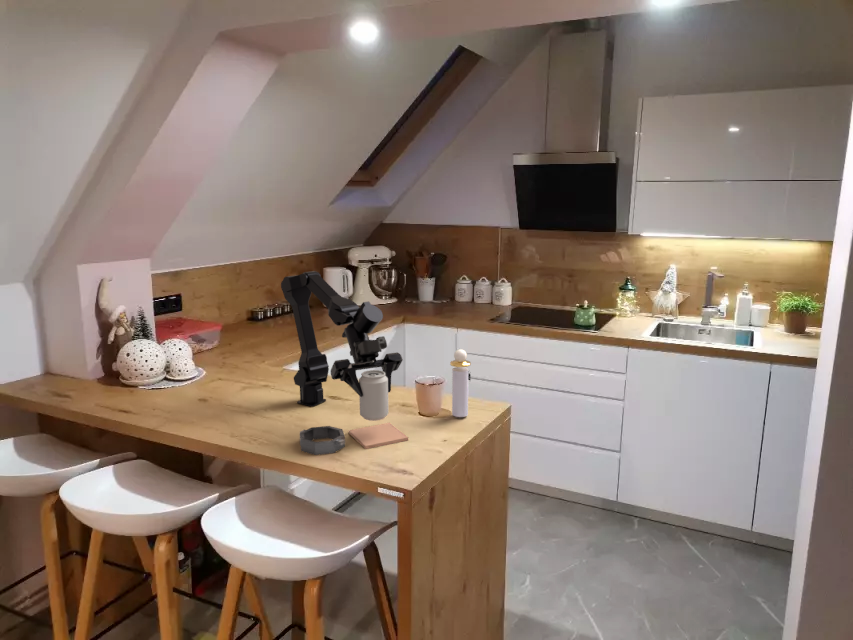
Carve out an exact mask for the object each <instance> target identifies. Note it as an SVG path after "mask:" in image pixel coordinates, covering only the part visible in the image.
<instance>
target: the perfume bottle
mask: <svg viewBox="0 0 853 640" xmlns="http://www.w3.org/2000/svg"><path fill="white" fill-rule="evenodd" d="M467 357H468V354H467V351H466V350H464V349H462V348H459V349H457V350H455V351H454V354H453V358H454V360H450V364H449V365H450V366H452V367H453V368H452V372H451V373H452V377H451V378H452V379H451V380H452V381H451V382H452V386H451V389H452V390H451V391H452V392H451V409H452V410H451V414H452V416H453V417H456V418H464V417H467V416H468V415H469V381H471V371H469V368H468V367H470V366H471V364H472V363H471V361H469V360H467Z"/></svg>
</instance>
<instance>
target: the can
mask: <svg viewBox="0 0 853 640" xmlns="http://www.w3.org/2000/svg"><path fill="white" fill-rule="evenodd" d="M358 381H359V384H360V387H361V389H362V394H363V396H362V397H360V396H359V395H358V396H359V398H358V399H359V416H361V417H362V418H363V419H364V420H366V421H371V422H373V421H381V420H384V419H385V418H386V417H387V416H388V414H389V392H388V378H387V377H386V376H385V372H383V370H378V369H377V370H376V369H373V370H372V369H371V370H370V369H369V370H366V371H363V372H361V377H359V379H358Z"/></svg>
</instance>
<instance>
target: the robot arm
mask: <svg viewBox="0 0 853 640" xmlns="http://www.w3.org/2000/svg"><path fill="white" fill-rule="evenodd" d="M280 288H281V291H282V293H283V297H284V299H285V300H286V302H287V303H288V304H289V305H290V306H291V308H292V313H293V317H294V318H293V319H294V322H295V323H294V324H295V328H296V331H297V337H298V343H299V346H300V351H301V352H300V353H301V354H300V357H299V360H298V363H297V364H298V370H297V372H296V374H295V375H294V376H293V382H294V385H296V386H298V387H299V395H300V397H299V399H300V400H297V401H296V404H298V405H303V406H308V407H315V406H317V405H320V404H322V403H325V402H326V401H327V399H325V398H324V388H323V383H327V381H328V375H329V370H330V377H331V380H334V381H335V380H339V381H341V382H345V384H347V385H348V386H349V387H350V388H351V389H352V390H353V391H354V392H355V393H356V394H357V395H358V396H360V397H362V396H363V394H362V389H361V387H360V384H359V379H358V377H357V371H361V370H368V369H369V370H370V369H375V368H381V371H383V372H385V376H386V377H387V378H388V393H391V391H392V374H393V372H396V371H398V369H400V366H401V364H402V362H403V361H404V360H403V357H402V354H400V353H399V352H391V353H386V354H385V355H384V357H383V359H381V358H380V359H377V358H378V357H379V352H380V353H381V352H382V351H383V350H385V349H387V348H388V343H387V339H386V337H385V336H378V337H376V339H370V337H369V334H371V333H373V332H374V330H375V328H376V327H377V326H378V325H379V324H380V323H381V321H382V320H383V318H384V315H383V314H384V313H383V312H382V309H380V308H379V307H377V306H375V305H374V304H371V302H370V301H363V302H362V303H361V304H360V306H359V305H358V303H356V302H354V301H353V300H352V299H350V298H347V297H343V296H341V295H340V294H339V293H338V292H337V291H336V290H335V289H334V288H333V287H332V286H331V285H330V284H329V283H328V282H327V281H326V280H324V278H323V277H322V276H321V274H320V272H319V271H316V270H314V271H304V272H302V273H301V274H297V275H289V276H285V277H284V278H283V279H282V281H281V282H280ZM312 294H313V295H314V296H315V298H317V299H318V300H319V301H320V302H321V303H322V304H323V305H324V306H325V307H326V308H327V313H328V317H329V318H330V320H331V321H332V322H333V324H334V325H336V326H338V327H339V326H344V325H347V326H346V327H345V328H344V330H343V332H342V335H341V337H342V338H345V339H346V340H347V344H348V346H349V349H350V351H349V355H350V356H352V360H353V362H350V361H351V360H350V359H349V358H345V359H336V360H334V361H333V364H332V367H331V369H330V368H329V367H330V366H329V363H328V359H327V354H326V353H322V352H321V351H320V350H319V348H318V343H317V339H316V338H317V337H316V334H315V333H316V332H315V329H314V323H313V319H312V315H311V310H310V309H311V308H310V305H309V301H310V298H311V296H312Z"/></svg>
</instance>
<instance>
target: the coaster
mask: <svg viewBox="0 0 853 640" xmlns="http://www.w3.org/2000/svg"><path fill="white" fill-rule="evenodd" d="M348 434H349V435H350V436H352V438H353V439H354V440H356V442H358V444H360V445H361V446H362V448H364V449H365V450H369V449H372V448H373V449H374V448H377V447H381V446H387V445H392V444H397V443H401V442H406V441H409V436H407V435H406V434H404V432H403V431H401V430H400V429H399V428H397V427H396V426H394V425H393V424H392V423H391V422H384V423H380V424H379V423H378V424H373V425H369V426H363V427H358V428H354V429H349V430H348Z"/></svg>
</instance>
